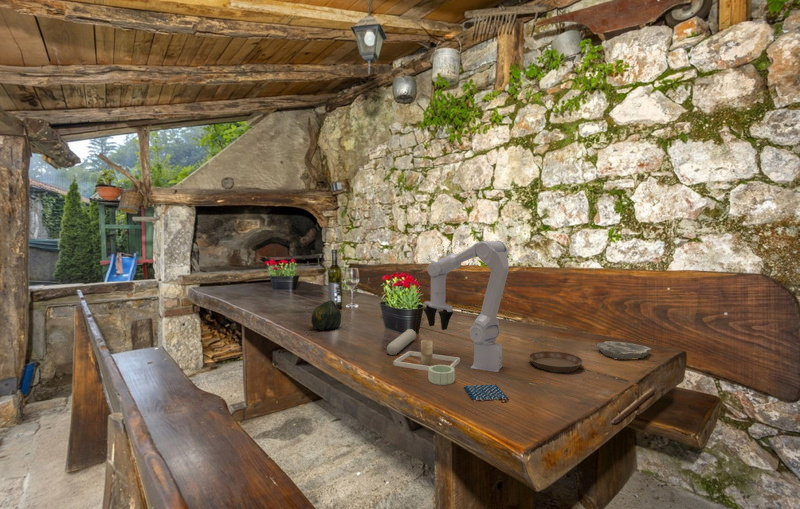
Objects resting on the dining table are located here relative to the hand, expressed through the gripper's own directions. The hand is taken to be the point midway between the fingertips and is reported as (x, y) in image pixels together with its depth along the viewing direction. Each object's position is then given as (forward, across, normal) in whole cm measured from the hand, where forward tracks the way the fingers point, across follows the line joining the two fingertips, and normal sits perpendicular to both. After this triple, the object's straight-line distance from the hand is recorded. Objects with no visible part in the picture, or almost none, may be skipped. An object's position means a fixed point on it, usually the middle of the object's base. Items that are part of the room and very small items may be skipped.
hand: (437, 327), depth 150 cm
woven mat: (+11, +38, -15) cm, 43 cm away
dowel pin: (+10, +8, -12) cm, 17 cm away
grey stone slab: (+11, +40, +59) cm, 72 cm away
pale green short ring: (+10, +23, -18) cm, 31 cm away
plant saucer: (+11, +34, +25) cm, 44 cm away
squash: (+11, -65, -18) cm, 68 cm away
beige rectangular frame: (+10, +8, -12) cm, 17 cm away
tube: (+11, -16, -6) cm, 20 cm away
